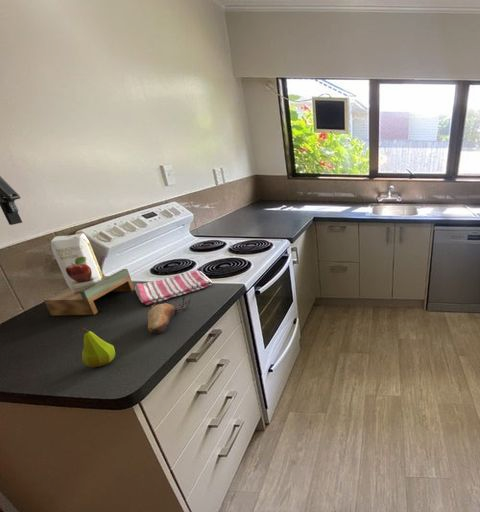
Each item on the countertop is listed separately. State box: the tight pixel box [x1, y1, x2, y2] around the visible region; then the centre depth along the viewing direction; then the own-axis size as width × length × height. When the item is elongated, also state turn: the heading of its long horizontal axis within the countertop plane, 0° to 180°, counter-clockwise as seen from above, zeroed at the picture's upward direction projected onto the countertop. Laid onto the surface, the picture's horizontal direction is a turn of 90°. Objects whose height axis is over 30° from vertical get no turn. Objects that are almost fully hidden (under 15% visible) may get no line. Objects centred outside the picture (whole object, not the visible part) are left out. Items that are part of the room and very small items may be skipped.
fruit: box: [80, 327, 116, 368], centre depth 74 cm, size 6×6×12 cm
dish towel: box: [133, 270, 214, 306], centre depth 114 cm, size 17×23×4 cm
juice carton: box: [50, 232, 103, 293], centre depth 100 cm, size 8×9×19 cm
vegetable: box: [146, 293, 191, 335], centre depth 91 cm, size 16×11×10 cm
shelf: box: [43, 268, 135, 316], centre depth 104 cm, size 14×18×9 cm
